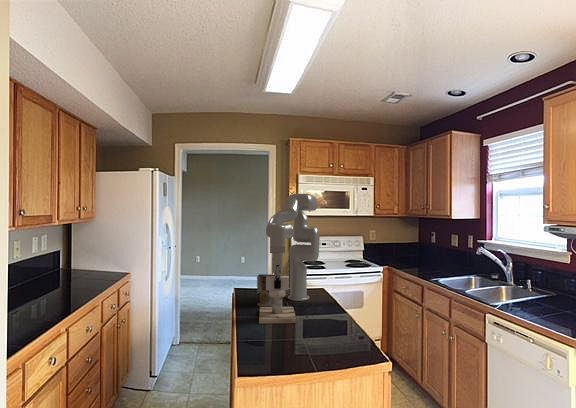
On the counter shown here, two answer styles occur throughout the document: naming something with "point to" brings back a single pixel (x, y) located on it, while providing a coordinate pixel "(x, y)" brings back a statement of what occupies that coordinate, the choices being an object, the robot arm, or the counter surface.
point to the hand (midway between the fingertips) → (277, 286)
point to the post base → (272, 317)
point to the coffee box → (263, 291)
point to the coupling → (277, 292)
